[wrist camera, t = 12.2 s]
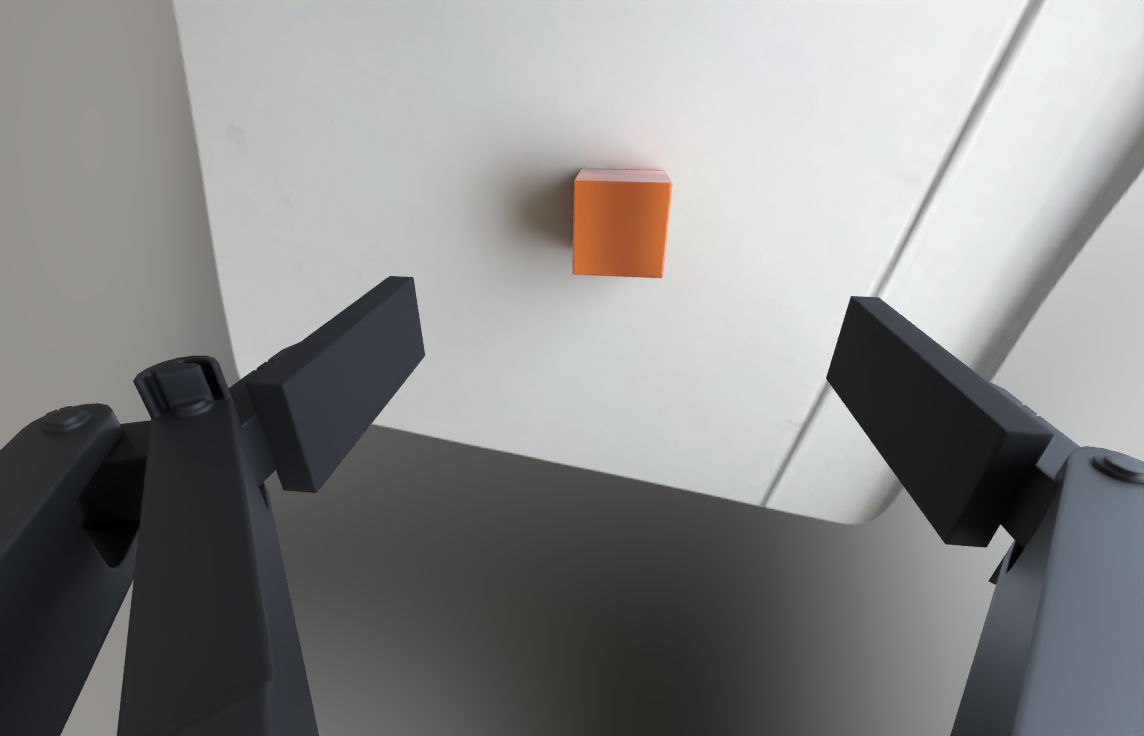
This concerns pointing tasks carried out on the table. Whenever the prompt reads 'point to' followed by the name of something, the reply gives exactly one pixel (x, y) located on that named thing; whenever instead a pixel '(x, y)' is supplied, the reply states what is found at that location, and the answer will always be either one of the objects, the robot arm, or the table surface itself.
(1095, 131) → the table surface
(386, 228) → the table surface
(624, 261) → the block
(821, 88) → the table surface
